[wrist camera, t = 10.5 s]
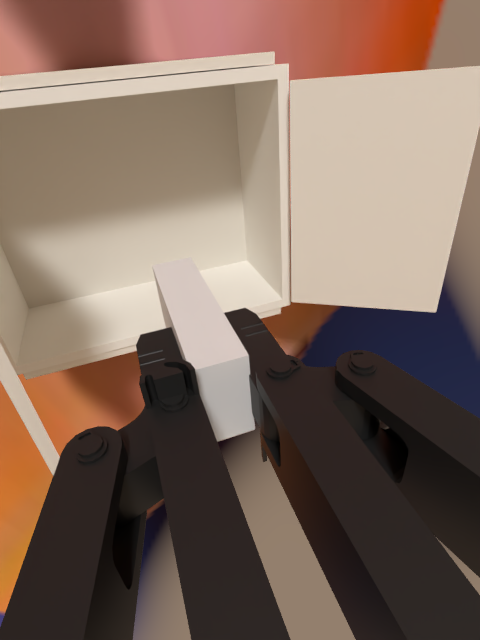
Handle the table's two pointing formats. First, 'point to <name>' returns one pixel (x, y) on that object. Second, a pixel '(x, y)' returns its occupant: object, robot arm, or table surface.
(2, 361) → the flap
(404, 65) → the table surface
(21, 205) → the carton
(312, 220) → the flap
